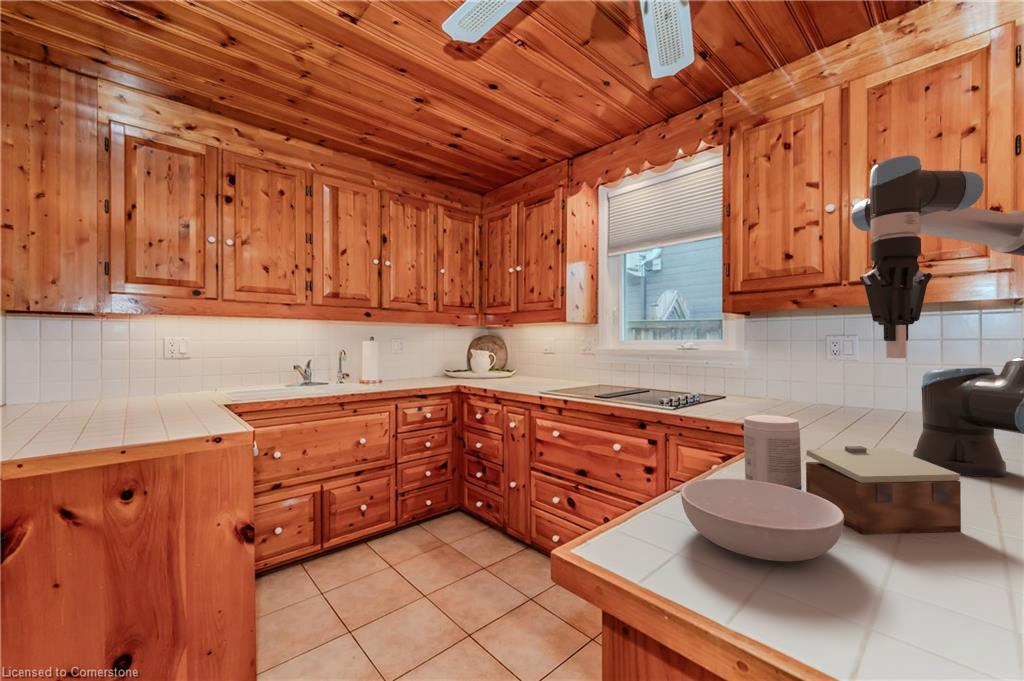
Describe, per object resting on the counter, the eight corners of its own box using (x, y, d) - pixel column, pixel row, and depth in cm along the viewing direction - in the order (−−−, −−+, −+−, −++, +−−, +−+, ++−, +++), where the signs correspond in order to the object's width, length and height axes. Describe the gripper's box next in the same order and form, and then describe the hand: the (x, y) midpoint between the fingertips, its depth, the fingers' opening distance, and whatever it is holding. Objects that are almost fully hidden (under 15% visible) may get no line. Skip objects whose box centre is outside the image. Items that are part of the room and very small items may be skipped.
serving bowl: (874, 557, 61) (873, 507, 61) (790, 603, 50) (790, 543, 50) (734, 507, 79) (733, 469, 79) (651, 534, 68) (651, 490, 68)
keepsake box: (890, 503, 80) (890, 460, 80) (962, 532, 68) (962, 481, 68) (806, 505, 79) (806, 462, 79) (863, 535, 67) (862, 484, 67)
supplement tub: (807, 493, 86) (806, 418, 86) (794, 506, 79) (793, 425, 79) (753, 481, 93) (752, 412, 93) (737, 493, 86) (736, 418, 86)
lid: (891, 453, 80) (891, 443, 80) (959, 480, 68) (960, 469, 68) (806, 455, 79) (806, 445, 79) (860, 482, 67) (861, 471, 67)
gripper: (880, 234, 82) (881, 359, 82) (946, 234, 83) (947, 358, 83) (847, 243, 90) (848, 357, 90) (908, 243, 90) (909, 356, 90)
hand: (896, 357), depth 86 cm, fingers closed
